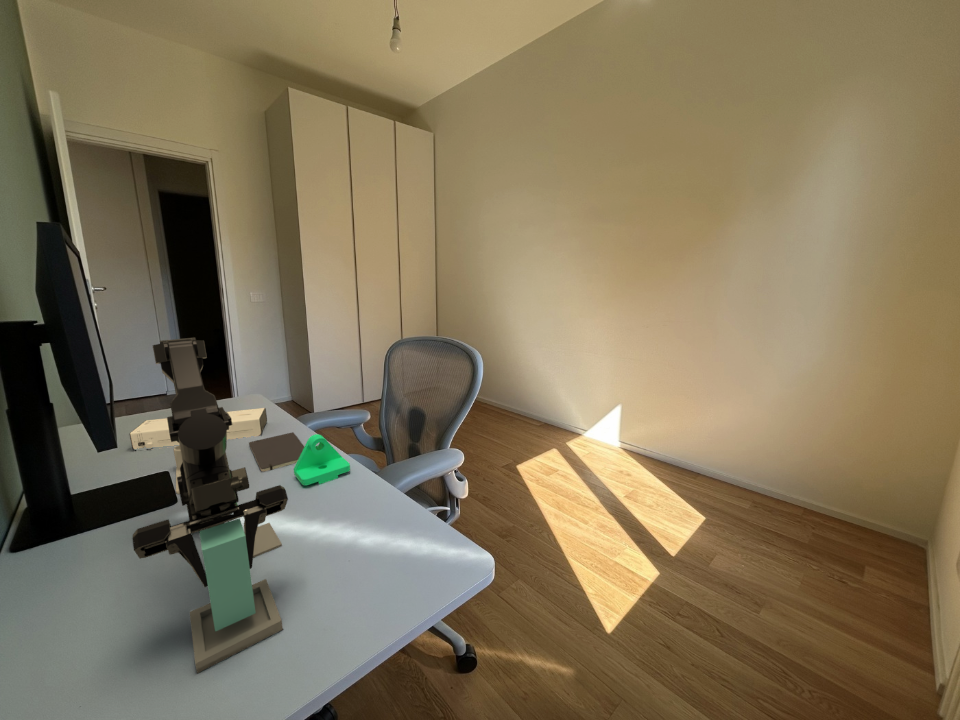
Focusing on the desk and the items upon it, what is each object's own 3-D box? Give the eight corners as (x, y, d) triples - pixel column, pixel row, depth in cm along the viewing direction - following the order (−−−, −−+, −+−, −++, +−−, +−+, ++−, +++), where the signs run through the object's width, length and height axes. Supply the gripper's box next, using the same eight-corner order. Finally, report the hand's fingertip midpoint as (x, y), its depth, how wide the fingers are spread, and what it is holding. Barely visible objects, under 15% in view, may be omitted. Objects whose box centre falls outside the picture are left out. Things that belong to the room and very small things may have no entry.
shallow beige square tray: (191, 620, 60) (189, 611, 60) (267, 586, 66) (266, 578, 66) (197, 673, 52) (195, 663, 52) (282, 629, 58) (281, 620, 58)
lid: (228, 571, 71) (227, 566, 70) (219, 545, 77) (218, 541, 77) (282, 548, 76) (281, 543, 76) (269, 526, 83) (269, 522, 83)
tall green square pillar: (211, 608, 59) (199, 531, 56) (249, 591, 62) (239, 518, 59) (215, 631, 55) (202, 550, 52) (255, 613, 58) (245, 535, 55)
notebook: (312, 460, 112) (293, 436, 128) (311, 455, 111) (293, 432, 128) (261, 474, 104) (249, 447, 121) (260, 469, 104) (248, 442, 120)
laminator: (267, 424, 138) (265, 407, 137) (261, 437, 127) (259, 419, 126) (149, 438, 127) (145, 420, 126) (131, 454, 116) (127, 434, 114)
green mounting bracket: (304, 490, 96) (299, 451, 94) (294, 478, 102) (290, 440, 99) (351, 474, 104) (348, 437, 101) (340, 463, 109) (337, 428, 107)
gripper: (119, 476, 51) (133, 603, 45) (278, 438, 62) (305, 535, 56) (133, 503, 58) (147, 615, 53) (272, 465, 70) (296, 553, 64)
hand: (229, 577), depth 56 cm, fingers closed on tall green square pillar, 5 cm apart
